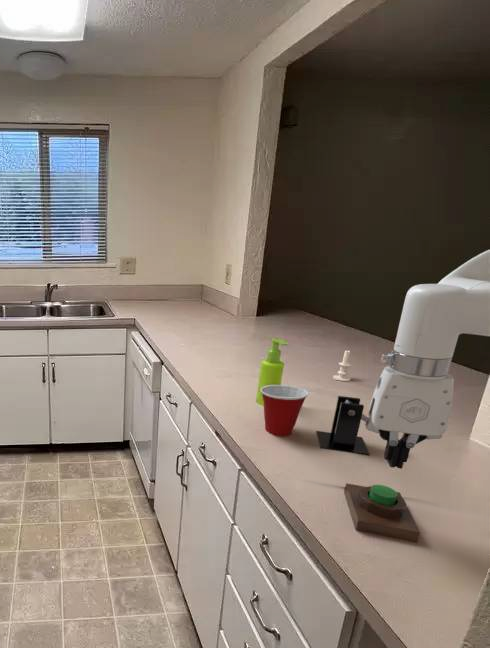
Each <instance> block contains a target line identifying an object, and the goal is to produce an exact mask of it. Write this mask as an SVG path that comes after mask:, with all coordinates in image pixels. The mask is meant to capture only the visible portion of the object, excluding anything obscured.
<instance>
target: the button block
mask: <svg viewBox="0 0 490 648" xmlns="http://www.w3.org/2000/svg"><path fill="white" fill-rule="evenodd" d="M371 486H372V485H371ZM371 486H364V485H357V484H352V483H347V482H346V483H345V487H344V491H343V493H344V494H343V495H344V497H345V498H344V499H345V500H346V504H347V507H348V510H349V514H350V517H351V520H352V524H353V526H354V530H355V532H360V533H361V532H362V533H366V534H371V535H376V536H380V537H386V538H390V539H396V540H401V541H406V542H410V543H415V544H418V541H419V538H420V536H421V531H420V529H419V526H418V525H417V523H416V521H415V519H414V517H413V515H412V514H411V511H410V509H409V508H408V507H409V506H407V503H406V500H405V499H404V498H403V496H402V494H401V492H398V491H396V492H397V494H398V496H397V499H396V503H395V504H394V505H384V504H380V503H378V502H376V501H373V500H372V499H371V498H370V497H369V493H370V489H371Z"/></svg>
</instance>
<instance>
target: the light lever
mask: <svg viewBox="0 0 490 648" xmlns="http://www.w3.org/2000/svg"><path fill="white" fill-rule="evenodd" d="M344 403H352V402H351V401H349V400H348V399H347V400H346V401H345V402H344ZM353 404H354V403H353ZM368 418H369V416H367V415H365V414H364V413H362V417H361V421H363V422H365V423H366V422H367V420H368ZM378 434H379V433H378ZM379 437H380V438H381V439H382V440H384V441H387V440H386V439H385V438H384V437H383V436H382V435H381V434H379Z"/></svg>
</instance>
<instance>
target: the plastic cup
mask: <svg viewBox="0 0 490 648" xmlns="http://www.w3.org/2000/svg"><path fill="white" fill-rule="evenodd" d="M260 392H261V393H262V397H263V401H264V406H263V415H264V416H263V417H264V418H263V419H264V426H265V428H264V429H265V431H266V432H267V433H269V434H270V435H273V436H276V437H288V436H290V435H292V433H293V430H294V428H295V426H296V423H297V420H298V417H299V415H300V412H301V410H302V407H303V404H304V402H305V400H306V398H307V397H308V396H309V392H308V391H307V390H306V389H304V388H302V387H298V386H294V385H287V384H281V385H269V386H264V387H262V388H261V389H260Z"/></svg>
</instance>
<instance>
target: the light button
mask: <svg viewBox="0 0 490 648" xmlns="http://www.w3.org/2000/svg"><path fill="white" fill-rule="evenodd" d="M397 492H398V491H396V490H395V489H393V488H392V487H389V486H387V485H383V484H373V485H371V489H370V493H369V497H370V498H371V499H372V500H373V501H376V502H378V503H380V504H384V505H394V504H395V503H396V499H397V496H398V494H397Z"/></svg>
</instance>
